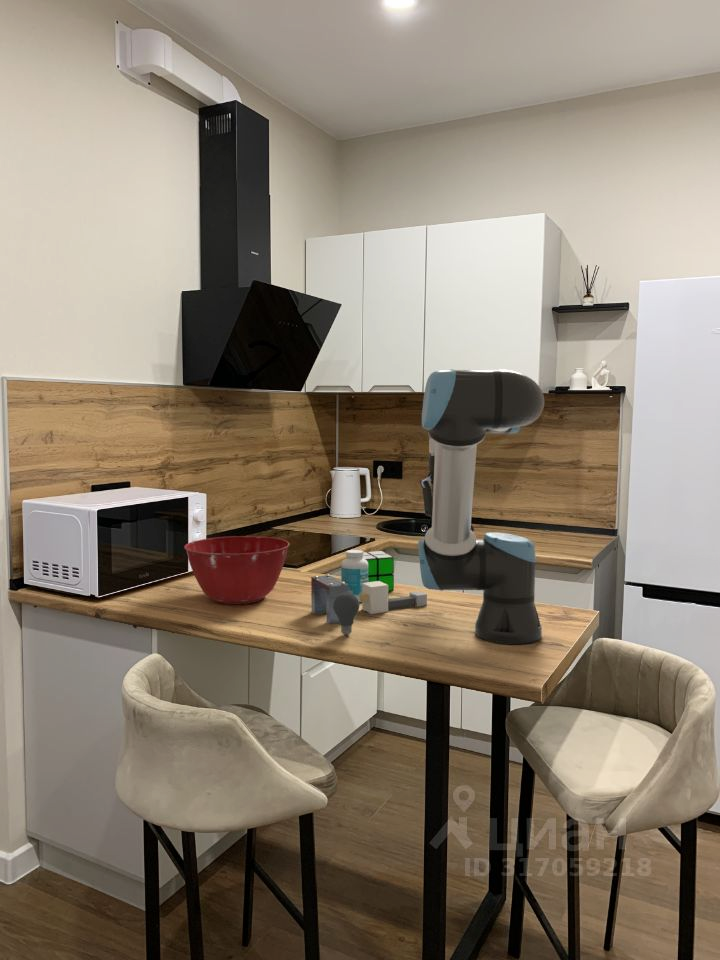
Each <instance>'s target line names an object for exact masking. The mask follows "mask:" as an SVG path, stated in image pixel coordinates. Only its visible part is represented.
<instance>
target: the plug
mask: <svg viewBox="0 0 720 960" xmlns="http://www.w3.org/2000/svg"><path fill="white" fill-rule="evenodd" d="M359 600H360V601H362V602H361V603H362V604H361V606H362V607H361V609H362V610H363V611H365V612H366V611H367V612H366V613H369V614H370V615H374V614H380V613H388V612H389V611H390V610H396V609H397V610H398V609H403V608H404V607H405V608H410V606H412V607H416V606H417V608H419V607H425V605H426V606H428V605H427V604H428V593H425V592H422V591H420V590H417V591H411V592H410V591H409V596H402V597H394V598H389V591H388V585H387V584H385V583H383V582H380V581H375V582H367V583H362V593H359ZM418 606H419V607H418Z"/></svg>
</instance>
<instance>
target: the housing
mask: <svg viewBox="0 0 720 960" xmlns="http://www.w3.org/2000/svg"><path fill="white" fill-rule="evenodd" d="M310 580H311V582H310V583H311V584H310V585H311V592H310V594H311V597H310V598H311V599H310V600H311V601H310V602H311V613H312V614H313V615H321V614H326V623H328V624H329V625H333V624H340V623H339V619H338V616H337V615H336V613H335V612H334V609H333V603H334V600H335V598H336V597H337V596H338V595H340V594H342V593H348V584H346V583H345V582H342V581H341V580H340V579H337V578H336V577H334V576H332V575H331V574H329V573H327V574H325V575H314V576H311V579H310Z"/></svg>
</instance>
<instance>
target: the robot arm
mask: <svg viewBox="0 0 720 960" xmlns="http://www.w3.org/2000/svg"><path fill="white" fill-rule="evenodd" d="M544 397H545V396H544V392H543V389H541V387H540V386H539V385H538V383H537V382H536V381H535V380H533V379H532V377H529V376H527V375H526V374H523V373H520V372H518V371H514V370H507V369H494V370H493V369H491V370H490V369H489V370H488V369H482V370H481V369H472V370H471V369H468V370H467V369H463V370H462V369H453V368H451V369H449V370H436V371H433V372H432V373H430V374H429V376H428V378H427V380H426V383H425V388H424V393H423V401H422V409H421V426H422V428H423V429H425V430H427V431H428V438H429V439H428V440H429V441H428V442H429V443H428V446H429V447H428V449H429V450H428V452H429V453H430V455H429V456H428V470H429V472H428V475H427V477H426V478H425V479H420V481H419V484H420V486H421V489H422V496H423V497H422V498H423V507H424V515H425V516H428V517H430V518H431V527H430V528H429V529H428V530H427V531H426V533H425V535H424V538H422V539H419V540H418V542H417V545H418V546H417V547H418V558H419V567H420V568H419V569H420V570H419V571H420V576H421V583H422V585H423V586H424V588H425V589H427V590H432V591H433V590H434V591H442V592H443V591H483V595H482V596H483V597H482V598H483V599H482V603H481V605H480V608H479V611H478V614H477V615H478V616H477V619H476V620H475V624H474V631H475V632H474V633H475V635H476V636H477V637H479V639H482V640H485V641H487V642H491V643H497V644H503V645H521V644H522V645H523V644H532V643H534V642H537V641H540V639H542V635H543V634H542V631H543V630H542V624H541V620H540V618H539V615H538V611H537V610H538V609H537V607H536V603H535V594H536V593H535V592H536V591H535V588H536V587H535V586H536V563H537V559H536V558H537V557H536V547H535V544H534V543H533V541H531V540H530V539H528V538H526V537H524V536H520V535H516V534H511V533H505V532H485V533H484V535H483V538H482V539H477V536H476V534H475V532H474V531H473V530H472V529H471V527H472V526H471V525H472V515H473V513H472V512H473V500H474V489H475V488H474V487H475V476H476V475H475V474H476V461H477V451H478V448H477V447H478V445H479V444H480V443H482V442H483V441H484V439H485V438H486V434H495V435H496V434H500V435H501V434H503V435H509V434H517V433H518V432H519V431H520V430H521V427H526V426H528V425H531V424H533V423H534V422H535V421H537V420H538V419H539V417H540V416H541V415H542V412H543V411H544V407H545V398H544ZM431 486H432V488H431Z"/></svg>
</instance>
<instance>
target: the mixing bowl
mask: <svg viewBox="0 0 720 960" xmlns="http://www.w3.org/2000/svg"><path fill="white" fill-rule="evenodd" d="M290 544H291V543H290V542H289V541H288V540H285V539H282V538H277V537H271V536H259V535H257V536H255V535H252V536H251V535H249V536H248V535H243V536H242V535H239V536H238V535H236V536H235V535H234V536H233V535H231V536H220V537H219V536H218V537H211V538H204V539H199V540H198V539H197V540H195V541H194V540H193V541H190V542H189V543H186V544H185V545H184V546H183V547H184V550H185V551H186V555H187V557H188V558H187V559H188V562H189V565H190V567H191V570H192V573H193V575H194V577H195V580H196V582H197V584H198V585H199V587H200V589H201V591H202V592H203V593H204V594H205V595H206V596H207V597H208V598H209V599H212V600H213V601H214V602H216V603H217V604H222V605H223V604H224V605H245V604H252V603H256V602H259V601H262V599H264V597H266V596H268V595H269V594H270V593H271V591H272V590H274V588H275V585H277V584H276V583H277V582H278V580H279V578H280V575H281V573H282V570H283V567H284V564H285V560H286V557H287V553H288V549H289V547H290ZM272 592H273V591H272Z"/></svg>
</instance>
